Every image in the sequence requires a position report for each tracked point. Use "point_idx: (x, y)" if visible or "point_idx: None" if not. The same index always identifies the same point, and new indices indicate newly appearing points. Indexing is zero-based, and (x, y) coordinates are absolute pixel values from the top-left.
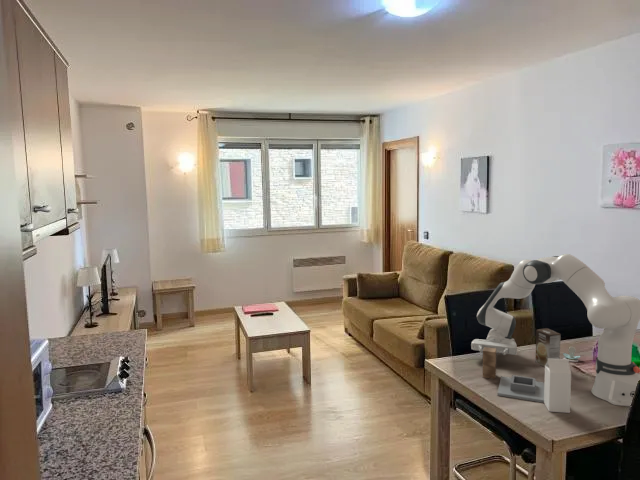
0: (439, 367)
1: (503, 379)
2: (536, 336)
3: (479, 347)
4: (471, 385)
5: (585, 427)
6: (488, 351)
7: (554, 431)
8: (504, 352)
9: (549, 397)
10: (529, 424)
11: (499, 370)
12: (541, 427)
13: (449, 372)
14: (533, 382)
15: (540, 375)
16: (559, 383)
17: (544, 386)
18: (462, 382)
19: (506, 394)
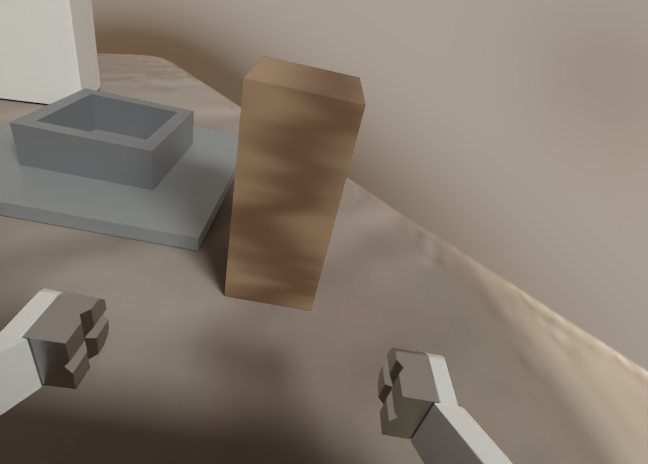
0: (612, 355)
1: (195, 208)
2: None
3: (481, 440)
4: (355, 194)
5: None
6: (316, 68)
7: (140, 62)
8: (59, 293)
9: (94, 36)
10: (190, 77)
11: (169, 381)
12: (165, 70)
13: (509, 294)
14: (64, 103)
15: None
16: None
17: (74, 35)
18: (398, 212)
19: (218, 130)
